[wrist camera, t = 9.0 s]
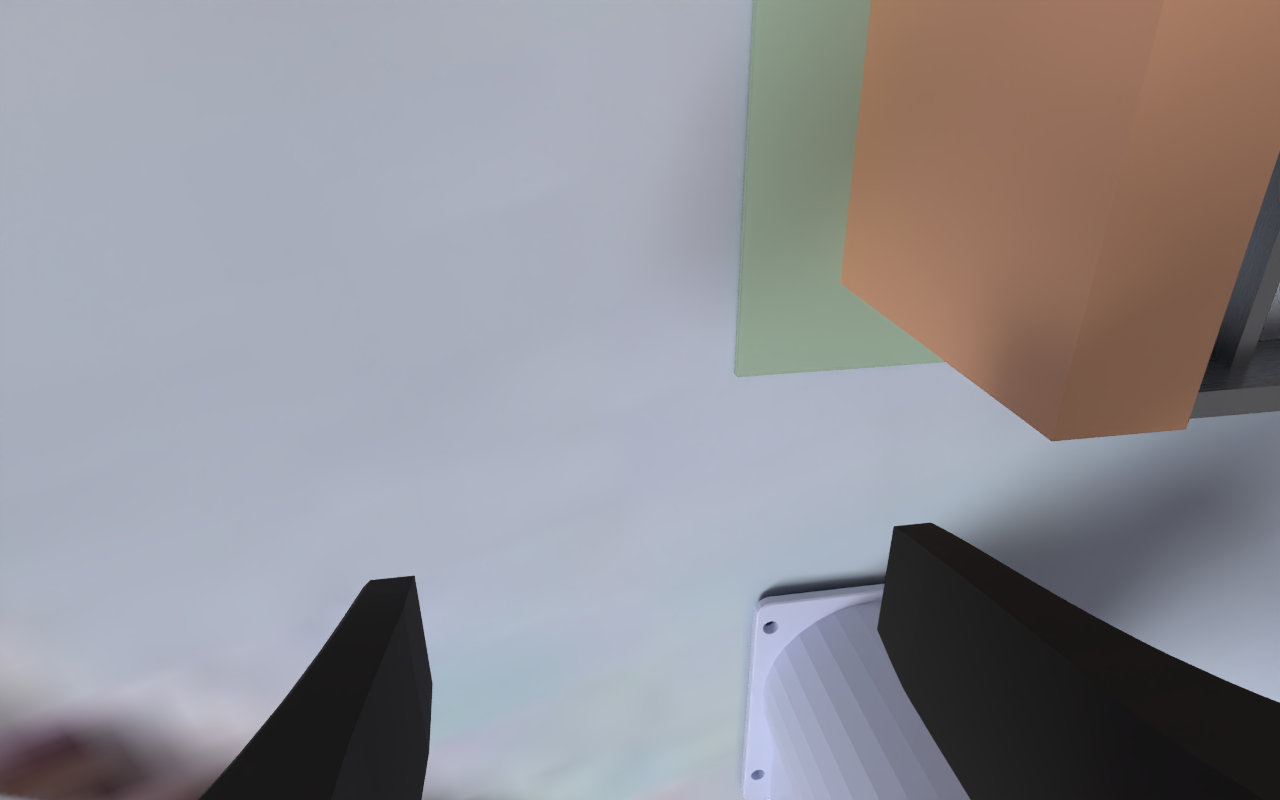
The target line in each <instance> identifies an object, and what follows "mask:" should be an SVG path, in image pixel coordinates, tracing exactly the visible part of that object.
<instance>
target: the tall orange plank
mask: <svg viewBox="0 0 1280 800" xmlns="http://www.w3.org/2000/svg"><path fill="white" fill-rule="evenodd" d="M1279 152H1280V0H871V8H870V17H869V26H868V35H867V45H866V54H865V63H864V72H863V81H862V90H861V100H860V109H859V118H858V127H857V136H856V145H855V155H854V164H853V173H852V182H851V191H850V200H849V210H848V219H847V228H846V237H845V246H844V255H843V265H842V274H841V284H842V285H843V286H845V287H846V288H847V289H849V290H850V291H851V292H853V293H854V294H855V295H857V296H858V297H859V298H861V299H862V300H864V301H865V302H866V303H868V304H869V305H870V306H872V307H873V308H874V309H876V310H877V311H878V312H880V313H881V314H882V315H884V316H885V317H886V318H888V319H889V320H890V321H892V322H893V323H894V324H896V325H897V326H898V327H900V328H901V329H902V330H904V331H905V332H906V333H908V334H909V335H910V336H912V337H913V338H914V339H916V340H917V341H918V342H920V343H921V344H922V345H924V346H925V347H926V348H928V349H929V350H930V351H932V352H933V353H934V354H936V355H937V356H938V357H940V358H941V359H942V360H944V361H945V362H946V363H948V364H949V365H950V366H952V367H953V368H954V369H956V370H957V371H958V372H960V373H961V374H963V375H964V376H965V377H967V378H968V379H969V380H971V381H972V382H973V383H975V384H976V385H977V386H979V387H980V388H981V389H983V390H984V391H985V392H987V393H988V394H989V395H991V396H992V397H993V398H995V399H996V400H997V401H999V402H1000V403H1001V404H1003V405H1004V406H1005V407H1007V408H1008V409H1009V410H1011V411H1012V412H1013V413H1015V414H1016V415H1017V416H1019V417H1020V418H1021V419H1023V420H1024V421H1025V422H1027V423H1028V424H1029V425H1031V426H1032V427H1033V428H1035V429H1036V430H1037V431H1039V432H1040V433H1041V434H1043V435H1044V436H1045V437H1047V438H1048V439H1049V440H1051V441H1060V440H1071V439H1082V438H1093V437H1104V436H1116V435H1127V434H1138V433H1149V432H1160V431H1171V430H1183V429H1186V427H1187V424H1188V421H1189V418H1190V415H1191V412H1192V409H1193V406H1194V403H1195V400H1196V397H1197V394H1198V391H1199V389H1200V386H1201V383H1202V380H1203V377H1204V374H1205V371H1206V368H1207V365H1208V362H1209V359H1210V356H1211V353H1212V350H1213V347H1214V344H1215V341H1216V338H1217V335H1218V332H1219V329H1220V326H1221V323H1222V320H1223V318H1224V315H1225V312H1226V309H1227V306H1228V303H1229V300H1230V297H1231V294H1232V291H1233V288H1234V285H1235V282H1236V279H1237V276H1238V273H1239V270H1240V267H1241V264H1242V261H1243V258H1244V255H1245V252H1246V249H1247V247H1248V244H1249V241H1250V238H1251V235H1252V232H1253V229H1254V226H1255V223H1256V220H1257V217H1258V214H1259V211H1260V208H1261V205H1262V202H1263V199H1264V196H1265V193H1266V190H1267V187H1268V184H1269V181H1270V178H1271V176H1272V173H1273V170H1274V167H1275V164H1276V161H1277V158H1278V155H1279Z"/></svg>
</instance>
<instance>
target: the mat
mask: <svg viewBox="0 0 1280 800" xmlns="http://www.w3.org/2000/svg"><path fill="white" fill-rule="evenodd" d="M870 8H871V0H753V16H752V36H751V55H750V75H749V95H748V114H747V134H746V154H745V173H744V193H743V212H742V232H741V252H740V271H739V291H738V311H737V330H736V350H735V370H734V373H735V375H736V376H737V377H745V376H759V375H773V374H787V373H801V372H815V371H829V370H843V369H857V368H870V367H884V366H898V365H912V364H926V363H940V362H945V361H944V360H942V359H941V358H940V357H938V356H937V355H936V354H934V353H933V352H932V351H930V350H929V349H928V348H926V347H925V346H924V345H922V344H921V343H920V342H918V341H917V340H916V339H914V338H913V337H912V336H910V335H909V334H908V333H906V332H905V331H904V330H902V329H901V328H900V327H898V326H897V325H896V324H894V323H893V322H892V321H890V320H889V319H888V318H886V317H885V316H884V315H882V314H881V313H880V312H878V311H877V310H876V309H874V308H873V307H872V306H870V305H869V304H868V303H866V302H865V301H864V300H862V299H861V298H859V297H858V296H857V295H855V294H854V293H853V292H851V291H850V290H849V289H847V288H846V287H845V286H843V285H842V284H841V274H842V265H843V255H844V246H845V237H846V228H847V219H848V210H849V200H850V191H851V182H852V173H853V164H854V155H855V145H856V136H857V127H858V118H859V109H860V100H861V90H862V81H863V72H864V63H865V54H866V45H867V35H868V26H869V17H870Z"/></svg>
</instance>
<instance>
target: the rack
mask: <svg viewBox="0 0 1280 800" xmlns="http://www.w3.org/2000/svg"><path fill="white" fill-rule="evenodd" d="M1279 282H1280V152H1279V155H1278V158H1277V161H1276V164H1275V167H1274V170H1273V173H1272V176H1271V178H1270V181H1269V184H1268V187H1267V190H1266V193H1265V196H1264V199H1263V202H1262V205H1261V208H1260V211H1259V214H1258V217H1257V220H1256V223H1255V226H1254V229H1253V232H1252V235H1251V238H1250V241H1249V244H1248V247H1247V249H1246V252H1245V255H1244V258H1243V261H1242V264H1241V267H1240V270H1239V273H1238V276H1237V279H1236V282H1235V285H1234V288H1233V291H1232V294H1231V297H1230V300H1229V303H1228V306H1227V309H1226V312H1225V315H1224V318H1223V320H1222V323H1221V326H1220V329H1219V332H1218V335H1217V338H1216V341H1215V344H1214V347H1213V350H1212V353H1211V356H1210V359H1209V362H1208V365H1207V368H1206V371H1205V374H1204V377H1203V380H1202V383H1201V386H1200V389H1199V391H1198V394H1197V397H1196V400H1195V403H1194V406H1193V409H1192V412H1191V415H1190V418H1189V419H1191V418H1203V417H1214V416H1226V415H1237V414H1249V413H1260V412H1272V411H1280V340H1271V341H1258V340H1259V337H1260V334H1261V331H1262V329H1263V326H1264V323H1265V320H1266V318H1267V315H1268V312H1269V309H1270V307H1271V304H1272V301H1273V298H1274V296H1275V293H1276V290H1277V287H1278V285H1279Z"/></svg>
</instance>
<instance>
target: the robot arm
mask: <svg viewBox="0 0 1280 800" xmlns="http://www.w3.org/2000/svg"><path fill="white" fill-rule="evenodd" d="M771 621H773V623H771V624H770V625H767V626H764V625H765V624H766V623H768V622H771ZM431 703H432V679H431V672H430V666H429V660H428V654H427V648H426V642H425V636H424V630H423V624H422V618H421V612H420V606H419V600H418V594H417V588H416V582H415V576H407V577H397V578H388V579H378V580H370V581H369V582H368V583H367V584H366V585H365V586H364V587H363V589H362V590H361V592H360V593H359V595H358V596H357V598H356V599H355V601H354V602H353V604H352V605H351V607H350V608H349V610H348V611H347V613H346V614H345V616H344V617H343V619H342V620H341V622H340V623H339V625H338V626H337V628H336V629H335V631H334V632H333V633H332V635H331V636H330V638H329V639H328V641H327V642H326V643H325V645H324V646H323V648H322V649H321V651H320V652H319V653H318V655H317V656H316V657H315V659H314V660H313V661H312V663H311V664H310V666H309V667H308V668H307V670H306V671H305V672H304V674H303V675H302V676H301V678H300V679H299V680H298V682H297V683H296V684H295V686H294V687H293V688H292V690H291V691H290V692H289V694H288V695H287V696H286V698H285V699H284V700H283V701H282V703H281V704H280V705H279V706H278V708H277V709H276V710H275V711H274V713H273V714H272V715H271V716H270V717H269V719H268V720H267V721H266V722H265V723H264V725H263V726H262V727H261V728H260V729H259V731H258V732H257V733H256V734H255V736H254V737H253V738H252V739H251V740H250V742H249V743H248V744H247V745H246V746H245V748H244V749H243V750H242V751H241V752H240V754H239V755H238V756H237V757H236V758H235V759H234V761H233V762H232V763H231V764H230V765H229V766H228V767H227V768H226V769H225V771H224V772H223V773H222V774H221V775H220V776H219V777H218V778H217V780H216V781H215V782H214V783H213V784H212V785H211V786H210V787H209V788H208V789H207V790H206V792H205V793H204V794H203V795H202V796H201V797H200V798H199V799H198V800H421V798H422V792H423V786H424V780H425V774H426V768H427V761H428V755H429V741H430V724H431ZM741 790H742V793H743V797H744V798H745V799H746V800H769V799H771V800H1280V703H1279V702H1276V701H1274V700H1271V699H1269V698H1266V697H1264V696H1261V695H1259V694H1256V693H1254V692H1251V691H1249V690H1247V689H1244V688H1242V687H1239V686H1237V685H1235V684H1232V683H1230V682H1228V681H1225V680H1223V679H1221V678H1219V677H1217V676H1214V675H1212V674H1210V673H1208V672H1206V671H1203V670H1201V669H1199V668H1197V667H1195V666H1192V665H1190V664H1188V663H1186V662H1184V661H1181V660H1179V659H1177V658H1175V657H1173V656H1170V655H1168V654H1166V653H1164V652H1162V651H1160V650H1158V649H1156V648H1154V647H1152V646H1150V645H1148V644H1146V643H1144V642H1142V641H1140V640H1138V639H1136V638H1134V637H1132V636H1130V635H1129V634H1127V633H1125V632H1123V631H1121V630H1119V629H1117V628H1115V627H1113V626H1111V625H1110V624H1108V623H1106V622H1104V621H1102V620H1100V619H1098V618H1096V617H1094V616H1093V615H1091V614H1089V613H1087V612H1085V611H1084V610H1082V609H1080V608H1078V607H1076V606H1075V605H1073V604H1071V603H1069V602H1067V601H1066V600H1064V599H1062V598H1060V597H1059V596H1057V595H1055V594H1053V593H1052V592H1050V591H1048V590H1047V589H1045V588H1043V587H1041V586H1040V585H1038V584H1036V583H1035V582H1033V581H1031V580H1029V579H1028V578H1026V577H1024V576H1023V575H1021V574H1019V573H1018V572H1016V571H1014V570H1013V569H1011V568H1009V567H1008V566H1006V565H1004V564H1003V563H1001V562H999V561H998V560H996V559H994V558H993V557H991V556H989V555H988V554H986V553H984V552H982V551H981V550H979V549H977V548H976V547H974V546H972V545H971V544H969V543H967V542H966V541H964V540H962V539H960V538H959V537H957V536H955V535H953V534H952V533H950V532H948V531H946V530H944V529H942V528H940V527H938V526H936V525H935V524H933V523H923V524H913V525H903V526H894V529H893V535H892V541H891V547H890V553H889V559H888V565H887V571H886V577H885V584H877V585H868V586H859V587H851V588H842V589H833V590H824V591H815V592H807V593H798V594H789V595H780V596H771V597H767V598H763V599H762V600H760V601H759V602H758V603H757V604H756V605H755V608H754V614H753V628H752V642H751V655H750V669H749V682H748V696H747V710H746V723H745V737H744V751H743V764H742V778H741Z"/></svg>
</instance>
